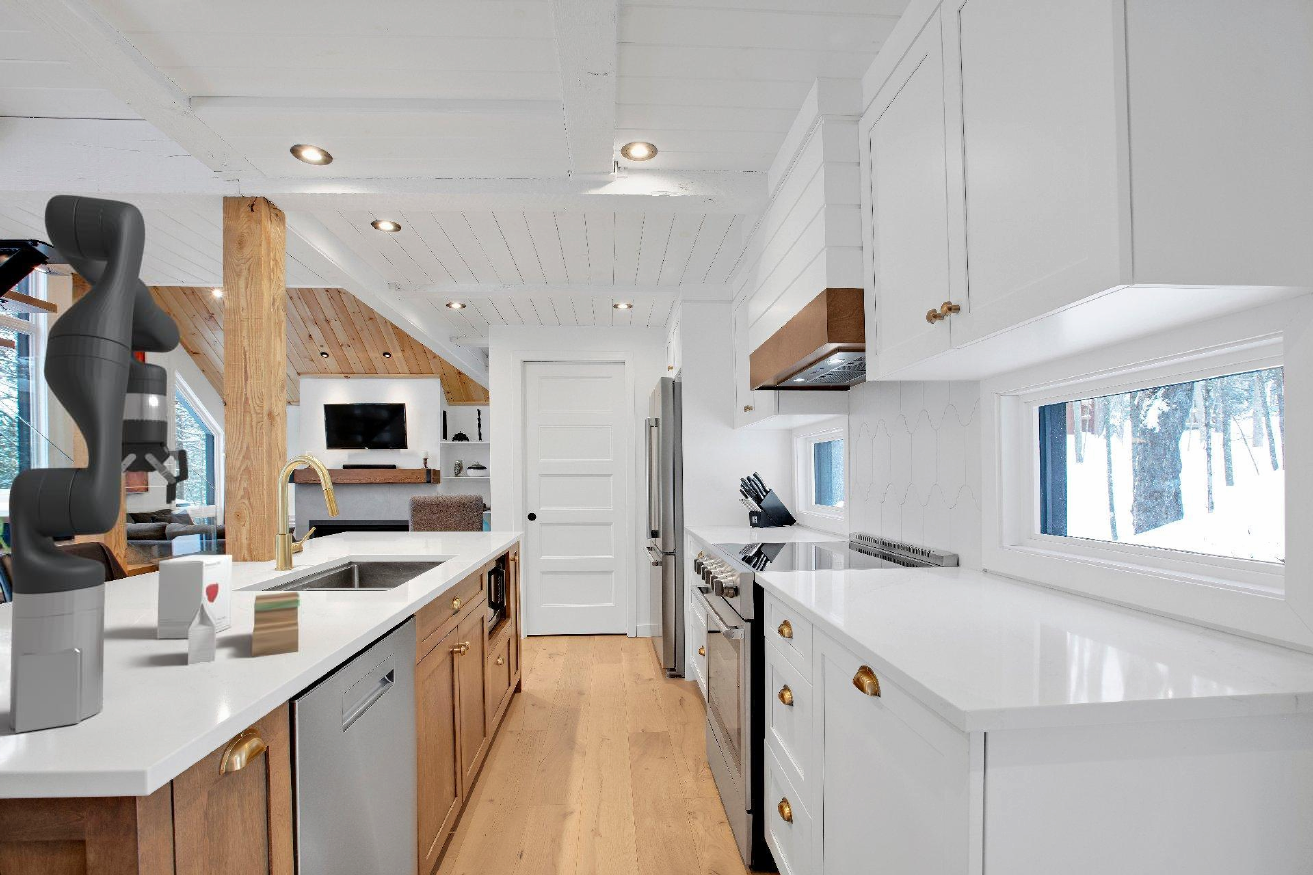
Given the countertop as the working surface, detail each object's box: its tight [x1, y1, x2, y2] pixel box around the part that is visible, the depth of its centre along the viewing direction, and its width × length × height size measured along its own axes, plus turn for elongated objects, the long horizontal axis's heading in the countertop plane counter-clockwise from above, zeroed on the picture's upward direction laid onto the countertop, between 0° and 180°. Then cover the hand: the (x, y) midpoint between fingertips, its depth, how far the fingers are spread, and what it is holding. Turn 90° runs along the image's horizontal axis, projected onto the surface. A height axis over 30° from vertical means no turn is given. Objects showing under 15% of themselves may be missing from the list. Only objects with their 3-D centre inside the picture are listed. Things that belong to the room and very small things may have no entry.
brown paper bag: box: [251, 591, 301, 658], centre depth 123 cm, size 15×7×8 cm, turn 29°
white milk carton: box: [187, 597, 217, 666], centre depth 114 cm, size 4×7×10 cm, turn 32°
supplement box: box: [156, 554, 233, 639], centre depth 131 cm, size 9×9×15 cm
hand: (141, 504), depth 125 cm, fingers open, 8 cm apart
